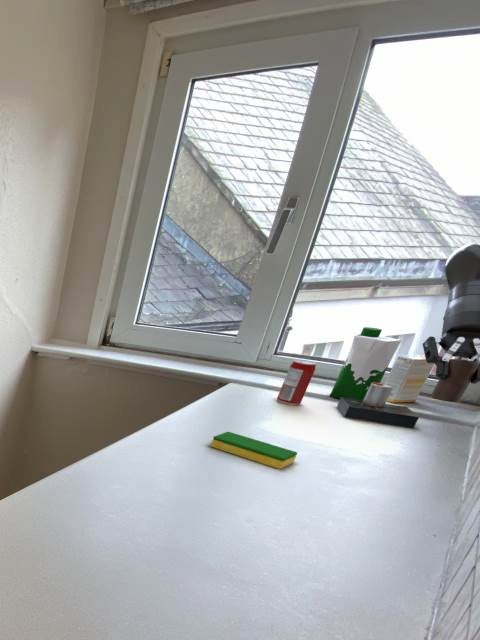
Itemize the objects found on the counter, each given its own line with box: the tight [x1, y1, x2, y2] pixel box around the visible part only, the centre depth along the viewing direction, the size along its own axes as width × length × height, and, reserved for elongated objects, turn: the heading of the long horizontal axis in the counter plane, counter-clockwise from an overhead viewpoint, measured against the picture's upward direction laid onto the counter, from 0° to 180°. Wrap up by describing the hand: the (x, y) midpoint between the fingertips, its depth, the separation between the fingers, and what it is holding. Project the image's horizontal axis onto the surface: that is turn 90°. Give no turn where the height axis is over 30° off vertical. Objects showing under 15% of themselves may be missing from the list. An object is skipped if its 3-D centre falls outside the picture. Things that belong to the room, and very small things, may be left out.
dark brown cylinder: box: [430, 358, 480, 403], centre depth 129 cm, size 5×5×9 cm
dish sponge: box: [210, 431, 298, 470], centre depth 119 cm, size 7×14×2 cm, turn 34°
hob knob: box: [362, 382, 393, 407], centre depth 145 cm, size 4×4×6 cm
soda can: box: [276, 359, 317, 406], centre depth 154 cm, size 6×6×12 cm
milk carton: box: [329, 326, 402, 400], centre depth 158 cm, size 9×9×20 cm
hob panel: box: [336, 397, 420, 429], centre depth 146 cm, size 14×10×3 cm
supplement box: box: [384, 354, 436, 404], centre depth 160 cm, size 8×5×13 cm, turn 100°
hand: (459, 379), depth 127 cm, fingers closed on dark brown cylinder, 5 cm apart
